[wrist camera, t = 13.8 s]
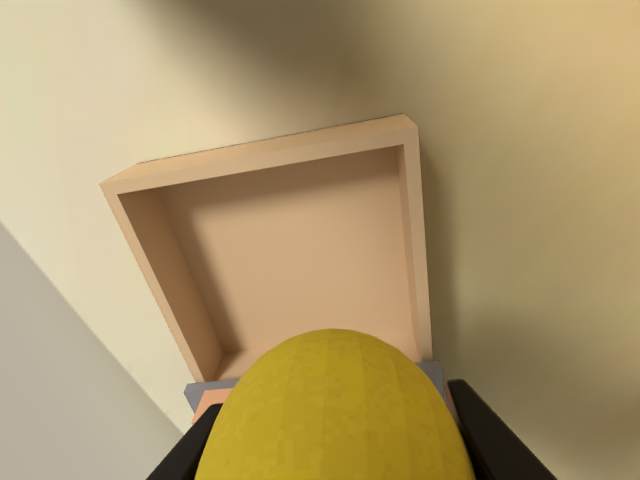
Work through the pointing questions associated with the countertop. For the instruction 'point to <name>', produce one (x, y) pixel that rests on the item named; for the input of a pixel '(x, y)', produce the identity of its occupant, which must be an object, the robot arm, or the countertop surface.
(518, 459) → the robot arm
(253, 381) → the lemon
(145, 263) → the box
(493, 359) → the countertop surface
